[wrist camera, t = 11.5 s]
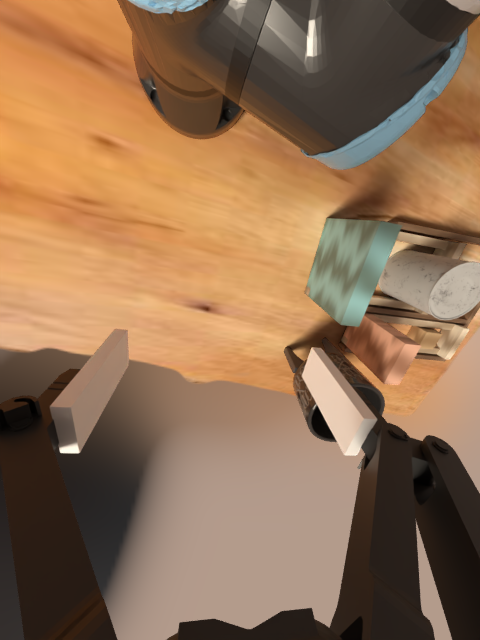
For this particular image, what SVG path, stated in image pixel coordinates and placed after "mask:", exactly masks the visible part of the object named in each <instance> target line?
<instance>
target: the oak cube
mask: <svg viewBox="0 0 480 640" xmlns="http://www.w3.org/2000/svg"><path fill="white" fill-rule="evenodd" d="M441 336H442V334H441V333H440V332H438V331H436V330H434V329H432V328H429V327H420V326H411V328H410V330H409V332H408V334H407V337H409V338H410V339H412V340H414V341H415V342H417V343H418V344H420V345H421V348H423V349H432V350H433V349H434V347H435V346H436V344H437V342H438V341H439V339H440V337H441Z"/></svg>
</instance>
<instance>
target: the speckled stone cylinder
mask: <svg viewBox="0 0 480 640" xmlns="http://www.w3.org/2000/svg"><path fill="white" fill-rule="evenodd" d="M378 284H379V287H380V289H381V291H382V292H384V293H385V294H387V295H389V296H392V297H394V298H396V299H398V300H401V301H403V302H405V303H407V304H409V305H411V306H413V307H415V308H417V309H420V310H422V311H424V312H426V313H428V314H430V315H432V316H434V317H435V318H437V319H440V320H452V319H455V318H458V317H460V316H462V315H464V314H466V313H467V312H469V311H470V310H471V309H473V308H474V307H475V306H476V305H477V304H478V303H479V301H480V263H477V262H468V261H463V260H458V259H453V258H447V257H442V256H437V255H432V254H427V253H422V252H416V251H414V250H403V251H400V252H398V253H396V254H394V255H393V256H391V257H390V258H389V259H388V260H387V263H386V265H385V267H384V270H383V272H382V274H381V277H380V279H379V281H378Z"/></svg>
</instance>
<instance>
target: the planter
mask: <svg viewBox="0 0 480 640" xmlns="http://www.w3.org/2000/svg"><path fill="white" fill-rule="evenodd" d="M321 341H322V343H323V345H324V348H325V354H326V355H327V356H328V357H329V359H330V360H331V361H332V362H333V364H334V365H335V366H336V367H337V369H338V370H339V371H340V373H341V374H342V375H343V376H344V378H345V379H346V380H347V381H348V383H349V384H350V385H351V386H355V387H356V388H357V389H359V390H360V391H361V392H362V393H363V394H364V395H365V396H366V398H367V400H369V401H370V402H371V404H372V405H373V406H374V407H375V408H376V410H377V411H378V412H379V413H380V414H381V416H382V414H383V411H384V407H385V401H384V397H383V395H382V393H381V392H380V391H379V390H378V389H377V388H376V387H375V386H374V385H373V384H372V383H371V382H370V381H369V380H368V379H367V378H366V377H365V376H364V375H363V374H362V373H361V372H360V371H359V370H358V369H357V368H356V367H355V366H354V365H353V364H352V363H351V362H350V361H349V360H348V359H346V358H345V356H344V355H343V354H342V353H341V352H340V351H339V350H338V349H336V348H335V347H334V346H333V345H332V344H331V343H330V342H329V341H328V340H327V339H326V338H324V339H323V340H321ZM284 353H285V356H286V358H287V360H288V363H289V365H290V367H291V369H292V372H293V373H295V375H294V378H293V387H294V391H295V393H296V396H297V398H298V401H299V404H300V406H301V409H302V412H303V414H304V417H305V420H306V422H307V425H308V427H309V429H310V431H311V432H312V434H313V435H314V436H316V437H317V438H319V439H321V440H324V441H330V442H337V441H336V439H335V437H334V435H333V433H332V432H331V430H330V428H329V426H328V424H327V422H326V420H325V419H324V417H323V415H322V413H321V411H320V409H319V407H318V406H317V404H316V402H315V400H314V398H313V396H312V394H311V393H310V391H309V389H308V387H307V385H306V383H305V381H304V380H303V378H302V374H303V371H304V368H305V365H306V362H307V360H305V361H303V360H301V359H300V358H299V357H297V356H296V355H295V354H294V352H293V351H292V350H291V348H288V347H286V348H285V350H284Z"/></svg>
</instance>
